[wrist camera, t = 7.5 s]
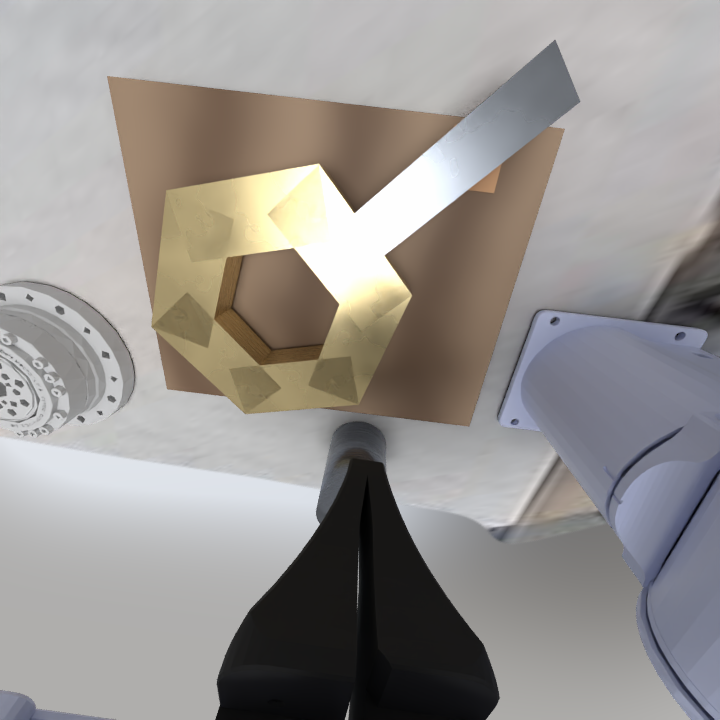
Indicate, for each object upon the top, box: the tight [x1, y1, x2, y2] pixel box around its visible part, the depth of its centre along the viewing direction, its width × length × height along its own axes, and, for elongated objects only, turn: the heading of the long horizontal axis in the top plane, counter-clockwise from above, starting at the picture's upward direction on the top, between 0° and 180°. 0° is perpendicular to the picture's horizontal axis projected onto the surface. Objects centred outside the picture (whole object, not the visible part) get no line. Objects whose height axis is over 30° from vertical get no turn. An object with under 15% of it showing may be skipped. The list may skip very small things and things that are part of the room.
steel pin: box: [316, 422, 386, 524], centre depth 20 cm, size 4×4×6 cm
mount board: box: [107, 76, 565, 426], centre depth 17 cm, size 20×16×1 cm
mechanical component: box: [0, 281, 134, 438], centre depth 19 cm, size 10×4×10 cm
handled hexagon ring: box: [151, 40, 580, 414], centre depth 15 cm, size 20×13×3 cm
